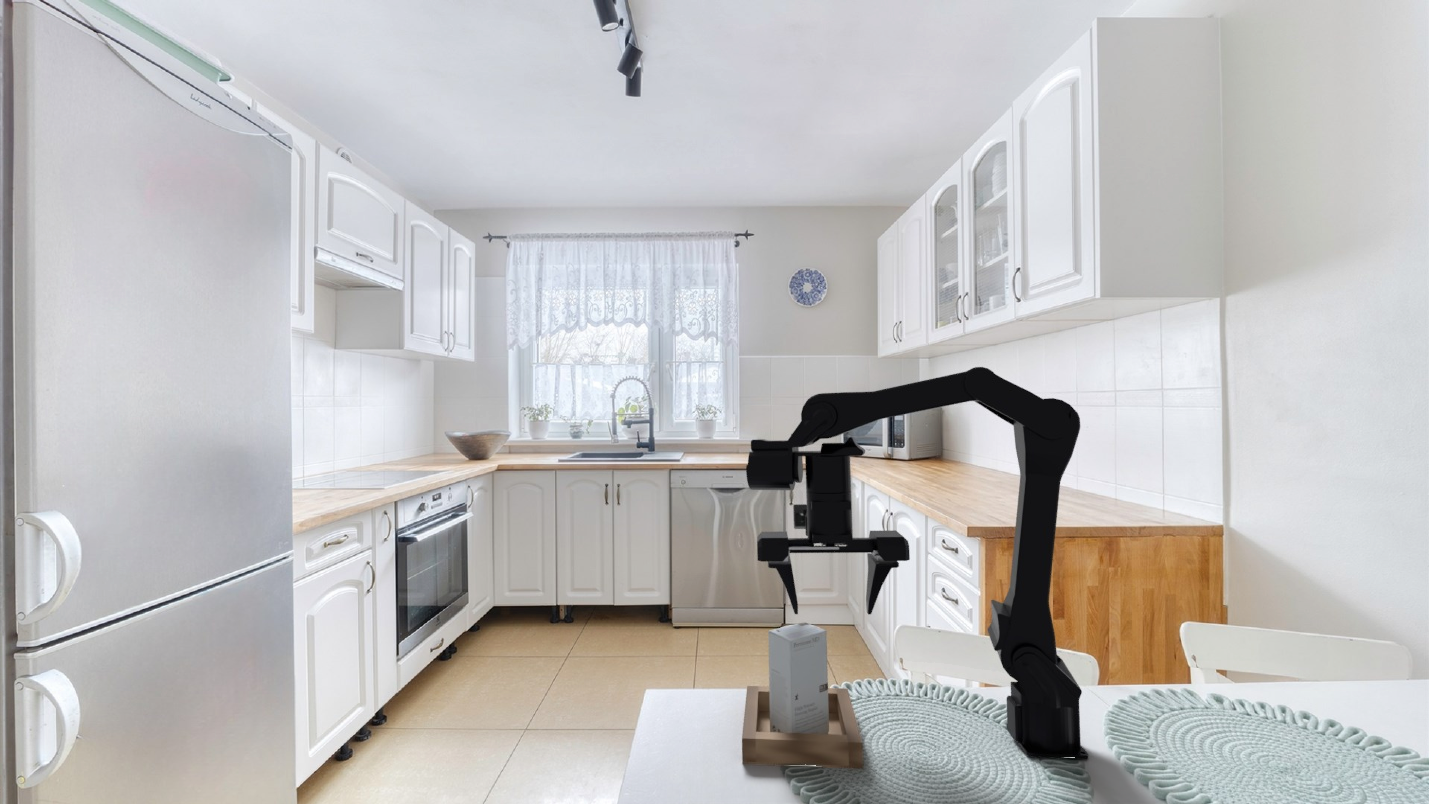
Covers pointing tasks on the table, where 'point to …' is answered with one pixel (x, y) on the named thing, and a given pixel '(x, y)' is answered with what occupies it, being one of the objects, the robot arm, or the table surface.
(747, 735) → the brown wooden tray
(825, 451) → the robot arm
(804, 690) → the skincare box
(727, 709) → the table surface
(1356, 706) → the table surface
